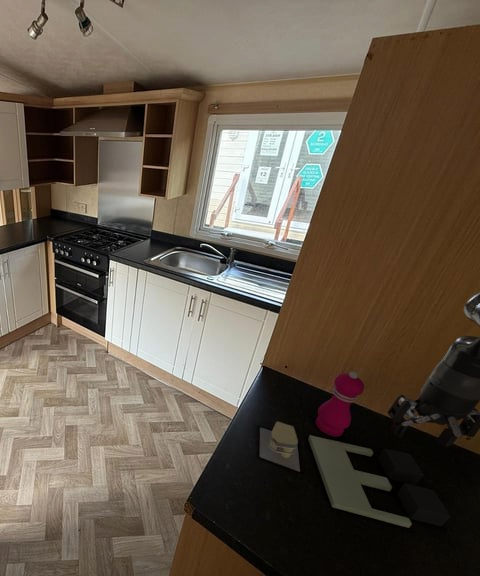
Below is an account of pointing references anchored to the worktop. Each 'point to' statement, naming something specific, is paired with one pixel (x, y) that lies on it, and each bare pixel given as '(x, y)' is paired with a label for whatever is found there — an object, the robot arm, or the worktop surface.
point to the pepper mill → (339, 404)
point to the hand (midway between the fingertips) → (418, 438)
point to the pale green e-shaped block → (349, 479)
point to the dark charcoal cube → (400, 466)
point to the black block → (423, 504)
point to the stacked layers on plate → (280, 445)
